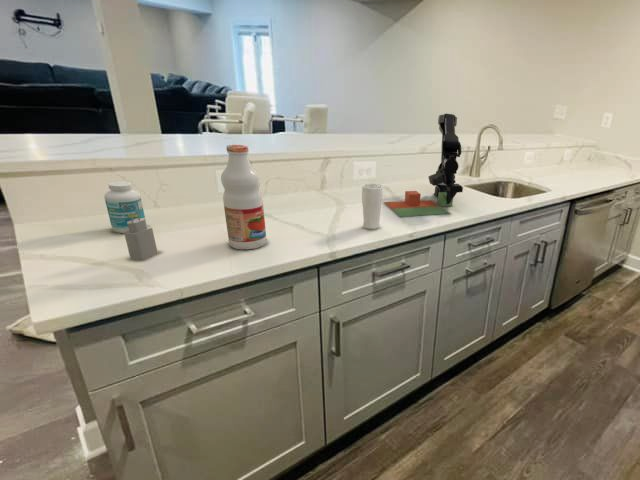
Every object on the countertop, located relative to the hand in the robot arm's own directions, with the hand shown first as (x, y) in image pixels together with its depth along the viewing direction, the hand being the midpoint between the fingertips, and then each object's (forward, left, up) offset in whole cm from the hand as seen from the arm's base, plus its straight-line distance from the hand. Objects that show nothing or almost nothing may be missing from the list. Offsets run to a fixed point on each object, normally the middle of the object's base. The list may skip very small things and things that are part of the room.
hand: (445, 202), depth 172 cm
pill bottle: (+106, +7, -1) cm, 106 cm away
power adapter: (+101, +27, -1) cm, 105 cm away
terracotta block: (+15, -2, -1) cm, 15 cm away
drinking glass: (+40, +20, -1) cm, 45 cm away
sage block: (0, 0, -1) cm, 1 cm away
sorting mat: (+15, +3, -1) cm, 15 cm away
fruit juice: (+78, +25, -1) cm, 82 cm away
